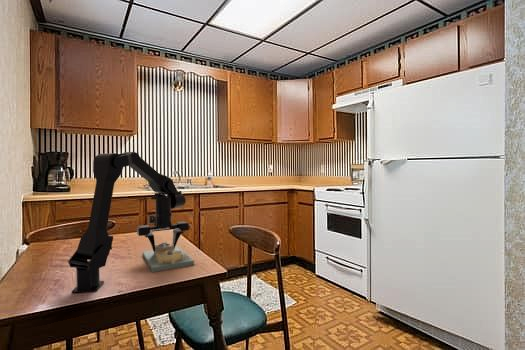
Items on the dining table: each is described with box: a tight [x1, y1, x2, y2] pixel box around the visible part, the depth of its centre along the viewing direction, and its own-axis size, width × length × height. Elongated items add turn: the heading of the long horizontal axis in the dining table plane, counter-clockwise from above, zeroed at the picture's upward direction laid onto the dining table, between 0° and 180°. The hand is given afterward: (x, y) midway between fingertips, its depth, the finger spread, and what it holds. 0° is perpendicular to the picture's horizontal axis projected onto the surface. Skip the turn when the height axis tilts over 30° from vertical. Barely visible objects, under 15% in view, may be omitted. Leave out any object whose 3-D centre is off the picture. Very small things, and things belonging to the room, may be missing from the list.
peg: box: [161, 241, 168, 247], centre depth 113 cm, size 2×2×4 cm
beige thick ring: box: [154, 242, 174, 255], centre depth 113 cm, size 7×7×3 cm
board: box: [142, 246, 195, 273], centre depth 109 cm, size 22×14×4 cm, turn 30°
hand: (164, 250), depth 113 cm, fingers closed on beige thick ring, 7 cm apart
